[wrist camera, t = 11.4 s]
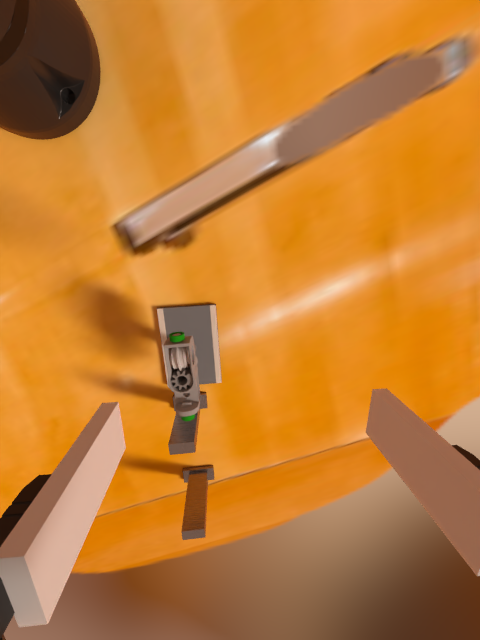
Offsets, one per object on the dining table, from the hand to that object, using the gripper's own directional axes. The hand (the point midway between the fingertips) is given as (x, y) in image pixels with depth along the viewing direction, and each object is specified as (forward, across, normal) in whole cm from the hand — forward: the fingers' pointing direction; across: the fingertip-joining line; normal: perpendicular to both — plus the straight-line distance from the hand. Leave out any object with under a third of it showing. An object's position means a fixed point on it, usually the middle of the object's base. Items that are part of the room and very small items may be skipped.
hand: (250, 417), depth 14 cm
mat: (+24, -6, -6) cm, 26 cm away
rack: (+24, -6, -22) cm, 33 cm away
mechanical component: (+24, -6, -6) cm, 25 cm away
